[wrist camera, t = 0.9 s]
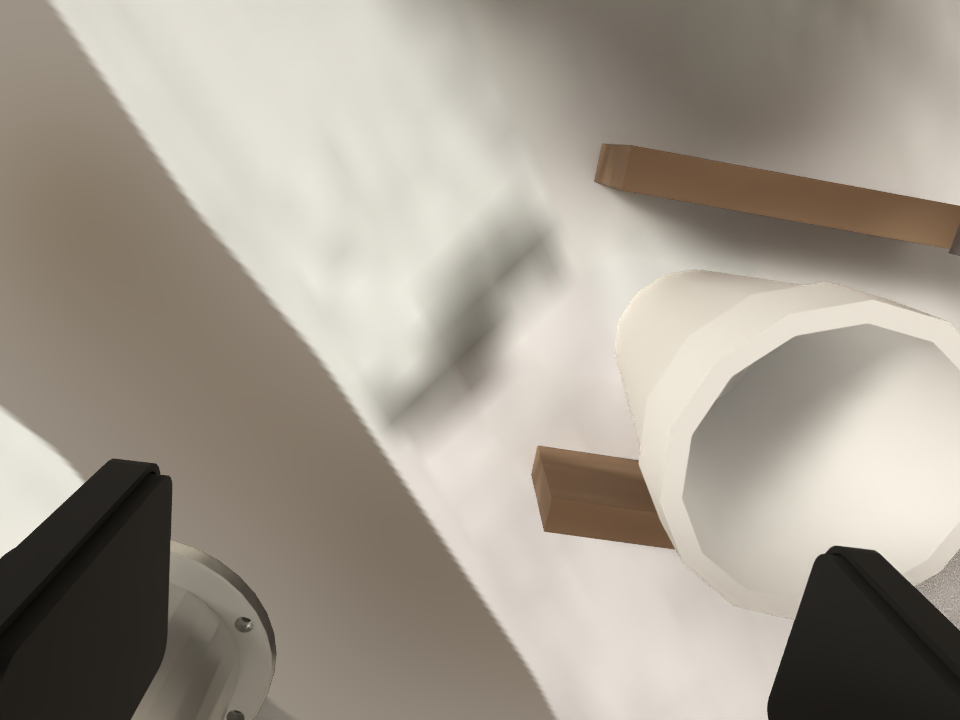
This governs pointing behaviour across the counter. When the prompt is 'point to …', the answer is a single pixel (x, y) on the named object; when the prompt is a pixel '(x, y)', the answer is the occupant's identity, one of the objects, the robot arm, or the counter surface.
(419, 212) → the counter surface
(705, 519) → the foam cup
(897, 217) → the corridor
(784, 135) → the counter surface
